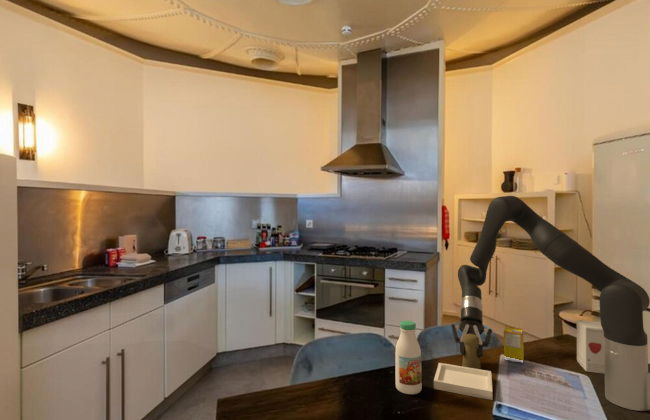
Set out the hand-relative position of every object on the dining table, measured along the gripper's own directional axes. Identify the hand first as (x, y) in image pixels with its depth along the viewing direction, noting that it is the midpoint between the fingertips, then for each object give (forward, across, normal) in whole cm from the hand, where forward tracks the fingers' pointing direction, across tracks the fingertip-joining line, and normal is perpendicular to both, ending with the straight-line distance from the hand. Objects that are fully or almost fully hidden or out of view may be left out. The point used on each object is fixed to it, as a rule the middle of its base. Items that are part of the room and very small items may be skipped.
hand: (471, 355), depth 116 cm
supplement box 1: (-7, +14, +14) cm, 21 cm away
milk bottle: (+19, -17, -12) cm, 28 cm away
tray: (+12, -2, -5) cm, 13 cm away
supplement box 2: (-9, +39, +16) cm, 43 cm away
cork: (+2, 0, +5) cm, 5 cm away
